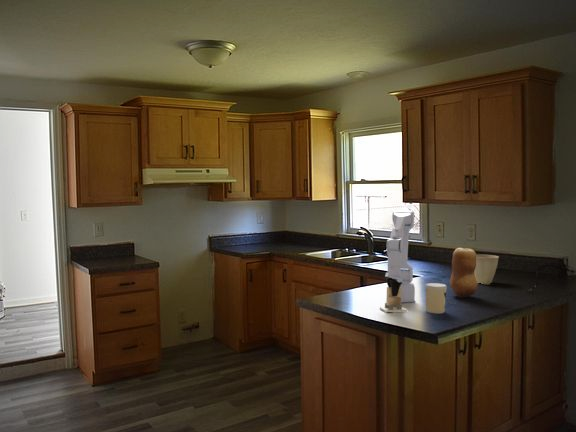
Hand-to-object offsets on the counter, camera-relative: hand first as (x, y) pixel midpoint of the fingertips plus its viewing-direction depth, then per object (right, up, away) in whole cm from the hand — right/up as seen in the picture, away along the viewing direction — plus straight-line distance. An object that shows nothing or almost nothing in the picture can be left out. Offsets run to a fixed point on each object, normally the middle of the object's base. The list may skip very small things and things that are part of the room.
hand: (393, 295), depth 237 cm
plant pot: (+66, -4, +69) cm, 95 cm away
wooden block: (0, -4, 0) cm, 4 cm away
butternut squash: (+41, -6, +30) cm, 51 cm away
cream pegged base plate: (0, -7, 0) cm, 7 cm away
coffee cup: (+19, -7, -1) cm, 20 cm away
